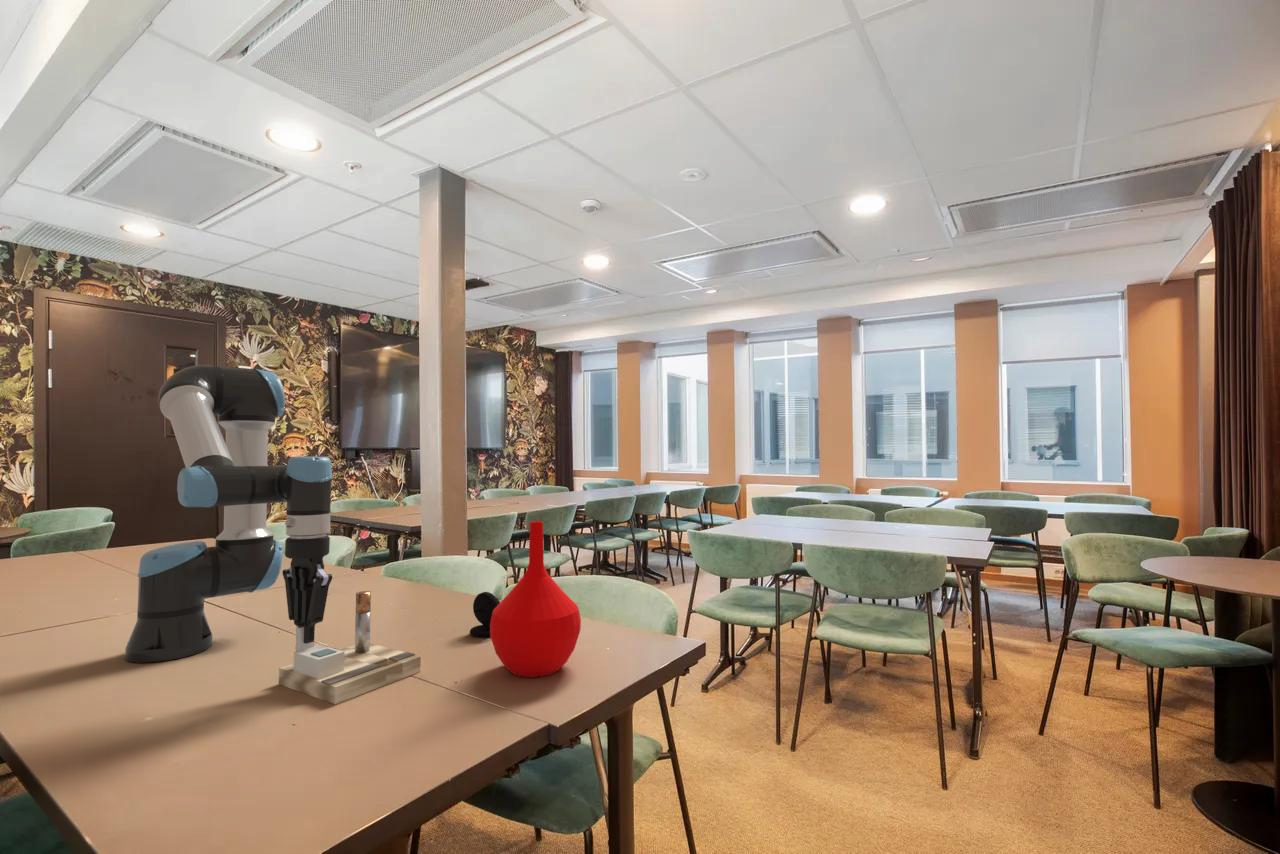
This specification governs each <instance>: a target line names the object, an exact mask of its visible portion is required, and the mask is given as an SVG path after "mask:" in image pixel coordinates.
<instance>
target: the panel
mask: <svg viewBox="0 0 1280 854" xmlns="http://www.w3.org/2000/svg"><path fill="white" fill-rule="evenodd" d="M339 650H340V651H344V671H341V672H338V673H335V674H332V675H329V676H327V677H324V678H321V679H316V678H313V677H310V676H307V675H304V674H301V673H298V672H295V671H293V666H294V663H291V664H288V665H285V666H282V667H279V668H278V685H280V686H283V687H286V688H288V689H291V690H295V691H297V692H299V693H303V694H305V695H308V696H311V697H314V698H316V699H318V700H322V701H324V702H328V703H330V704H333V705H337V704H339V703H343V702H346V701H348V700H350V699H353V698H355V697H359V696H361V695H363V694H366V693H369V692H372V691H373V690H376V689H379V688H381V687H384V686H386V685H389V684H391V683H394V682H396V681H399V680H402V679H404V678H407V677H409V676H412V675H415V674H418V673H420V672H421V660H422V659H421V656H420V655H416V654H415V653H413V652H409V651H402V650H397V649H394V648H389V647H385V646H383V645H378V644H374V643H371V642H370V651H369V652H366V653H355V644H353V645H351V646H347V647H344V648H343V647H342V648H340V649H339Z"/></svg>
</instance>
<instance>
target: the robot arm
mask: <svg viewBox="0 0 1280 854" xmlns="http://www.w3.org/2000/svg"><path fill="white" fill-rule="evenodd" d="M283 386H284V385H283V383H282V381H281V379H280V377H279V376H278V375H277V374H276V373H274V372H273V371H269V370H262V369H258V368H247V367H246V368H245V367H233V366H231V367H230V366H220V365H212V364H211V365H210V364H197V365H191V366H187V367H185V368H182V369H180V370H178V371H176V372H175V373H173V374H172V375H171V376H169V377H167V379H166V380H165V381H164V383H163V384H162V385H161V387H160V389H159V392H158V400H157V401H158V402H157V403H158V406H159V410H160V412H161V414H162V415H163V416H164V417H165V418H166V419H167V420H169V421H170V424H171V427H172V430H173V433H174V436H175V440H176V442H177V445H178V447H179V451H180V454H181V457H182V461H183V464H184V466H185V467H183V468H182V469H181V470H180V472H179V473H178V476H177V483H176V484H177V485H176V486H177V487H176V492H177V500H178V502H179V504H180V505H182V506H183V507H185V508H213V507H224V508H223V530H222V531H221V533H219V534H218V535H217V536H216V537H215V545H214V546H207V544H206V542H205V541H201V540H198V541H190V542H180V543H175V544H174V543H173V544H170V545H166V546H161V547H158V548H154V549H151V550H148V551H147V552H145V553H143V554H142V556H141V557H140V560H139V566H138V572H137V578H138V587H137V589H138V590H137V593H138V594H137V613H136V614H137V617H136V623H135V625H134V627H133V629H132V633H131V634H130V637H129V639H128V641H127V644H126V647H125V649H124V650H125V654H124V659H125V661H126V662H130V663H136V664H137V663H140V664H141V663H156V662H165V661H171V660H176V659H181V658H185V657H190V656H193V655H196V654H198V653H201V652H204V651H207V650H208V649H210V648H211V647H212V646H213V633H212V630H211V628H210V625H209V622H208V619H207V617H206V614H205V599H210V598H217V597H223V596H229V595H237V594H242V593H254V592H255V591H261V590H266V589H269V588H270V587H272V586H273V585H274V584H276V581H277V580H278V579H279V576H280V572H281V570H282V576H283V579H284V584H285V594H286V605H287V613H288V619H289V621H293V624H294V625H295V652H296V651H300V650H303V649H307V648H310V647H314V646H315V631H316V630H315V629H316V628H315V627H316V625H317V624H318V623H322V622H323V621H324V617H325V616H324V615H325V609H326V605H327V599H328V595H329V594H328V593H329V588H330V587H329V586H330V585H331V582H332V580H333V574H332V573H326V572H325V570H324V569H325V563H324V558H325V557H326V556H327V555H329V554H330V547H331V545H330V544H331V542H330V541H331V540H330V539H331V538H330V536H329V535H327V534H329V533H330V532H331V505H332V504H331V503H332V502H331V501H332V478H333V472H332V461H331V459H330V457H328V456H291V457H290V458H289V459H288V461H287V464H280V465H268V446H269V445H268V442H269V441H268V440H269V431H270V430H271V428H272V427H274V426H275V425H276V419H279V418H281V417H282V416H283V414H284V413H285V406H286V396H285V391H284V387H283ZM215 416H218V422H217V418H216V417H215ZM219 425H220V426H221V427H222V428H223V429H225V430H224V431H225V438H224V436H223V434H222V432H221V429H220V426H219ZM224 439H225V440H224ZM280 503H282V504H283V503H286V512H285V513H286V518H285V519H286V520H285V521H284V525H285V526H286V527H285V534H286V536H289V537H287V538H286V539H285V540H284V541H285V545H284V546H285V547H284V554H283V546H282V544H281V542H280V541H279V540H276V539H274V533H273V532H272V531H270V530H269V529H268V527H267V512H268V511H267V510H268V509H267V508H268V507H267V506H268V504H280ZM284 556H285V557H286V558H287V559H289V560H291V561H290V567H289V568H287V569H282V565H283V557H284Z"/></svg>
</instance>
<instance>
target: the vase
mask: <svg viewBox="0 0 1280 854" xmlns="http://www.w3.org/2000/svg"><path fill="white" fill-rule="evenodd" d="M528 545H529V546H528V556H529V557H528V566H527V569H526V571H525V572H524V574H523V576H522V577H521V578H520V580H519V581H518V582H517V583H516V584H515V585H514V587H513V588H512V589H511V591H509V593H507V595H505V597H504V598H503V599H502V600H501V601H500V603H499V604H498V605H497V607H496V608H495V609H494V610H493V613H492V617H491V621H490V630H489V631H490V636H491V637H490V639H491V643H492V645H493V648H494V651H495V654H496V656H497V657H498V659H499V661H500V662H501V664H502V665H503V666H504V668H506V669H507V670H508V671H509V672H510V673H511V674H513V675H516V676H519V677H525V678H539V677H538V676H540V677H545V675H546V676H549V675H552V674H554V672H555V673H556V671H557V672H558V671H559V670H560V669H561V668H563V666H565V665H566V663H567V662H568V660H569V658H570V657H571V656H572V653H573V652H574V650H575V648H576V645H577V642H578V639H579V635H580V634H581V633H580V631H581V628H582V627H581V626H582V625H581V624H582V621H581V620H582V618H581V614H580V609H579V606H578V604H577V603H575V602H574V601H573V599H572V598H570V597H569V595H567V593H565V591H564V590H562V588H561V587H560V586H559V585H558V584H557V583H556V581H555V580H554V579H553V578H552V576H551V575H549V573H548V571H547V569H546V567H545V563H544V561H545V560H544V555H545V554H544V548H545V547H544V545H545V544H544V522H543V521H542V520H535V521H530V522H529V543H528Z"/></svg>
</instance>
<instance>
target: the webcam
mask: <svg viewBox="0 0 1280 854" xmlns="http://www.w3.org/2000/svg"><path fill="white" fill-rule="evenodd" d="M500 602H501V601H500V600H499V598H497V597H496V596H495V595H494V594H493V593H491V592H489V591H484V592H483V591H482V592H480V593H478V594H477V595H476V596H475V598H474V601H473V605H472V607H473V608H472V609H473V614H474V616H475V619H476V620H477V621H478V622H479V623H480V624H479V625H476V626H473V627H471V628H470V630H469V635H470V636H472V637H473V638H479V639H480V638H482V639H484V638H485V639H486V638H491V636H490V621H491V617H492V613H493V610H494V609H495V608H496V607H497V605H498V604H499V603H500Z"/></svg>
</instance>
